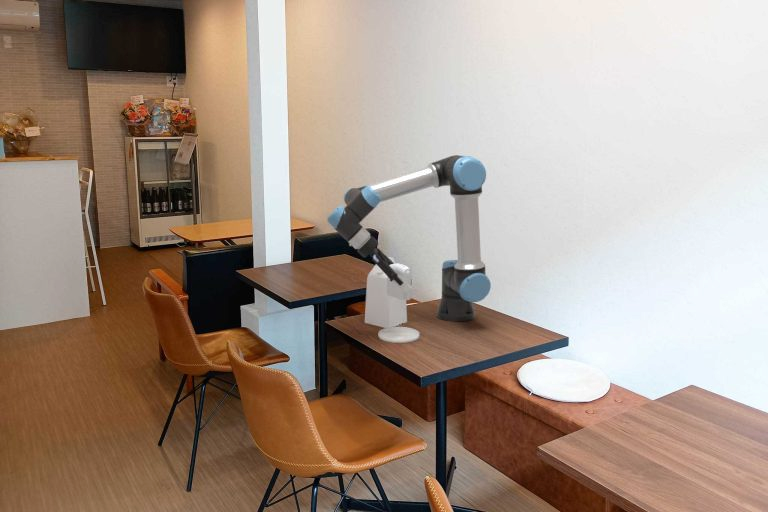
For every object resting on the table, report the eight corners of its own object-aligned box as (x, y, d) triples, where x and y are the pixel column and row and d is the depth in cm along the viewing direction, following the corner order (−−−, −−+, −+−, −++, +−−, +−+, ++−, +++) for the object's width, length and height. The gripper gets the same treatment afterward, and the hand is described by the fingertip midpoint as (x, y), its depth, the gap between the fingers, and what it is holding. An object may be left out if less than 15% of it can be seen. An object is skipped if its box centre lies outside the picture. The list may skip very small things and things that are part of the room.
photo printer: (385, 295, 238) (385, 262, 236) (394, 293, 241) (394, 260, 238) (404, 301, 230) (404, 267, 228) (413, 299, 233) (413, 265, 231)
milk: (407, 321, 257) (407, 256, 252) (388, 328, 248) (389, 261, 243) (383, 316, 264) (383, 252, 259) (364, 322, 256) (364, 257, 250)
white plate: (418, 330, 247) (418, 327, 247) (420, 343, 232) (420, 340, 232) (378, 329, 247) (378, 326, 247) (377, 342, 232) (377, 339, 232)
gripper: (358, 244, 243) (400, 286, 246) (354, 256, 222) (400, 302, 225) (372, 230, 242) (414, 272, 245) (370, 241, 220) (416, 287, 223)
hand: (408, 286), depth 235 cm, fingers closed on photo printer, 9 cm apart
